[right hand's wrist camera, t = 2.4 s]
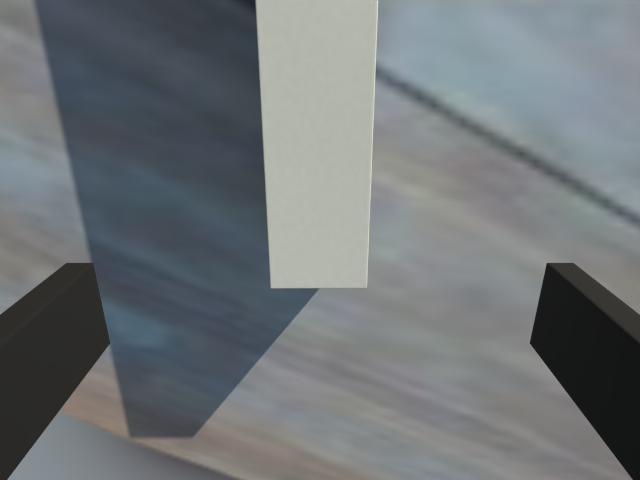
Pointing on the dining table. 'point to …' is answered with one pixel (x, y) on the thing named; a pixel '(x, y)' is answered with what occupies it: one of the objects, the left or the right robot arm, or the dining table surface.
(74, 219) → the dining table surface
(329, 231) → the plank
